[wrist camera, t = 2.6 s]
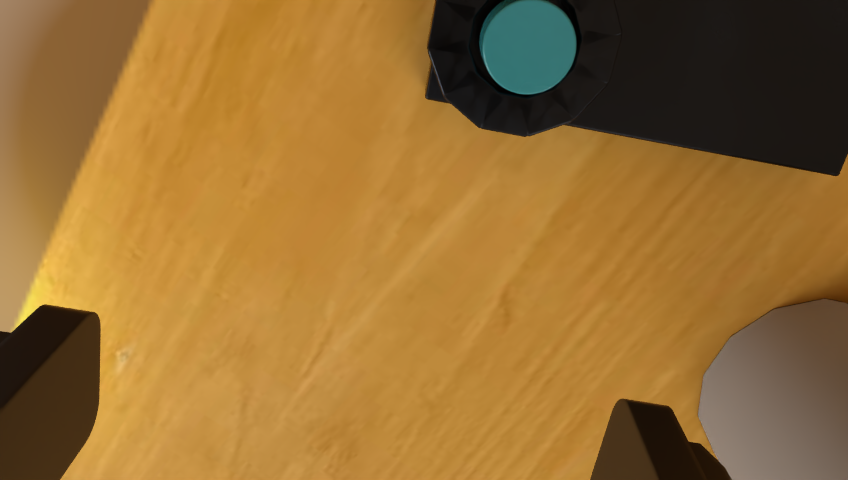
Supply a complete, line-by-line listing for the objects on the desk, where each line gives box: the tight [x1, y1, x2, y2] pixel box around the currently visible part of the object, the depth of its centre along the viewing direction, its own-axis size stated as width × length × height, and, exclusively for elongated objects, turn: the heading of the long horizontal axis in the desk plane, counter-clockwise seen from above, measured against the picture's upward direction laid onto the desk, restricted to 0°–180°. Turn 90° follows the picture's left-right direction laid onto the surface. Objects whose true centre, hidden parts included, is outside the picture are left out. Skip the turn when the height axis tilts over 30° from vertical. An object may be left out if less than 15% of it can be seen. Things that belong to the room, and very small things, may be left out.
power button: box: [479, 0, 577, 94], centre depth 21 cm, size 3×3×2 cm
